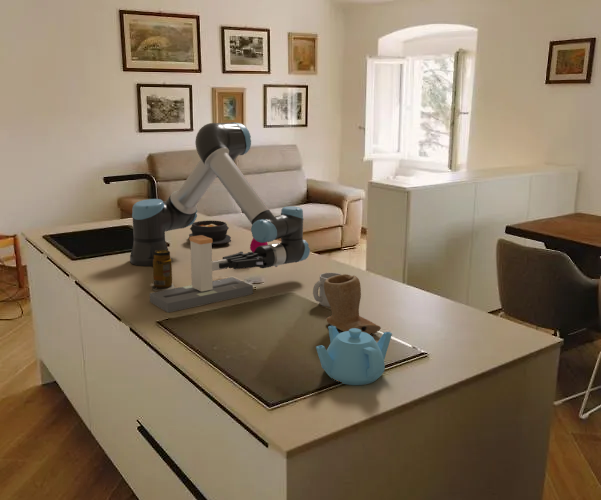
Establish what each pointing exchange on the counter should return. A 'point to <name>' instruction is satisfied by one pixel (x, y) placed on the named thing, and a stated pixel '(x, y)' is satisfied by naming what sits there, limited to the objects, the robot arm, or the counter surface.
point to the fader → (201, 262)
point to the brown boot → (346, 304)
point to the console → (200, 294)
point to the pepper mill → (256, 244)
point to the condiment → (162, 271)
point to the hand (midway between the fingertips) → (208, 266)
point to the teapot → (354, 356)
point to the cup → (322, 289)
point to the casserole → (211, 231)
